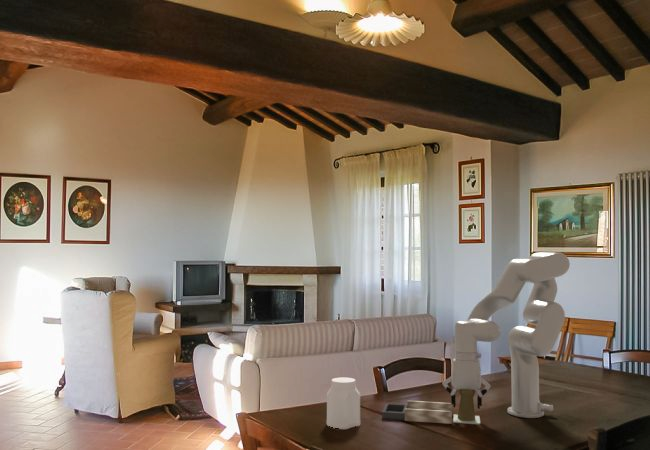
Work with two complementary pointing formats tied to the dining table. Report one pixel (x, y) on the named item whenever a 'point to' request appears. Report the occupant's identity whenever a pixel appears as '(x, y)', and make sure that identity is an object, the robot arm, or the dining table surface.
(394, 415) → the box
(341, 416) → the jar
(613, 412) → the dining table surface
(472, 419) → the cork
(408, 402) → the birch lane
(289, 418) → the dining table surface
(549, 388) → the dining table surface
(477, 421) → the pad
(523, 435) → the dining table surface
